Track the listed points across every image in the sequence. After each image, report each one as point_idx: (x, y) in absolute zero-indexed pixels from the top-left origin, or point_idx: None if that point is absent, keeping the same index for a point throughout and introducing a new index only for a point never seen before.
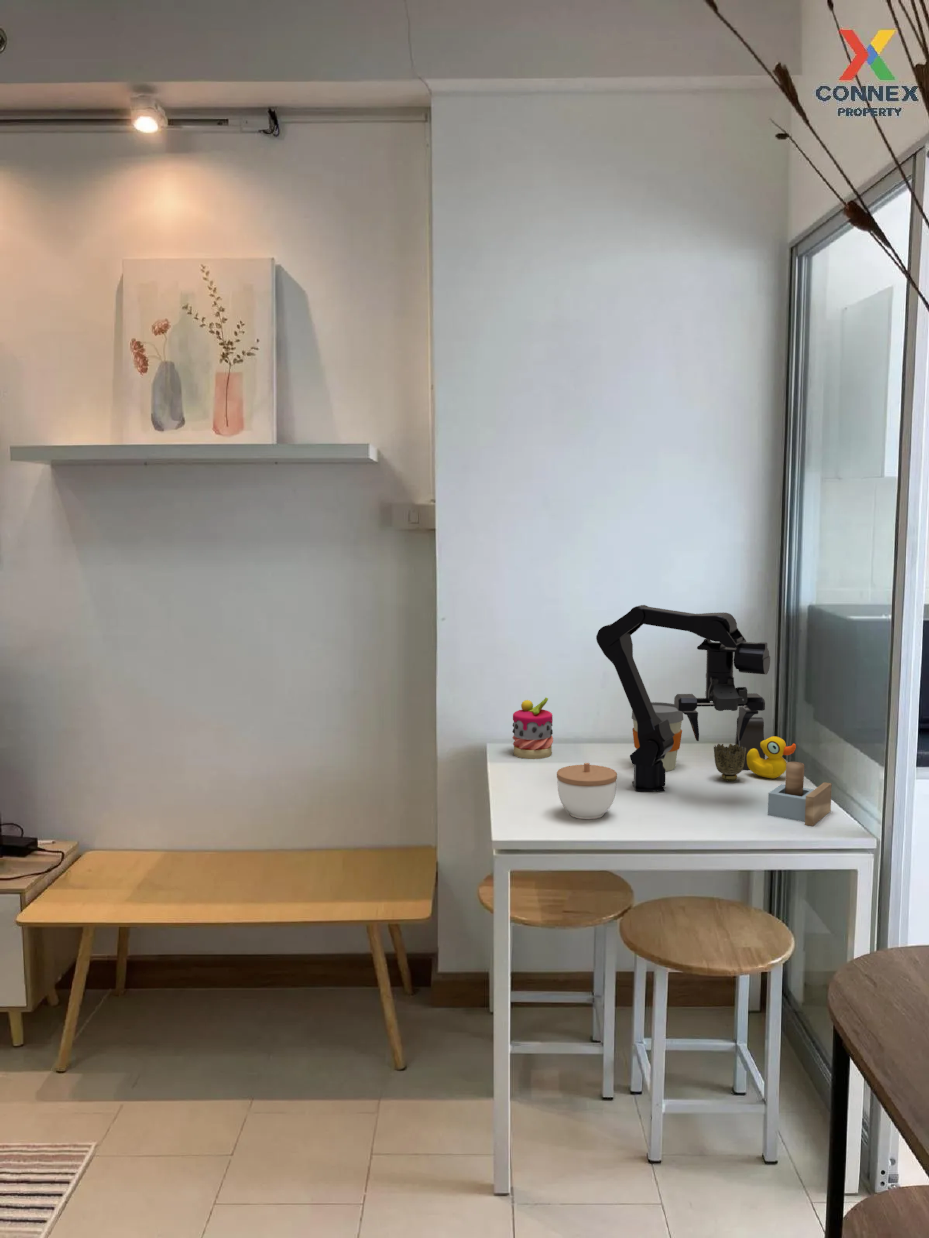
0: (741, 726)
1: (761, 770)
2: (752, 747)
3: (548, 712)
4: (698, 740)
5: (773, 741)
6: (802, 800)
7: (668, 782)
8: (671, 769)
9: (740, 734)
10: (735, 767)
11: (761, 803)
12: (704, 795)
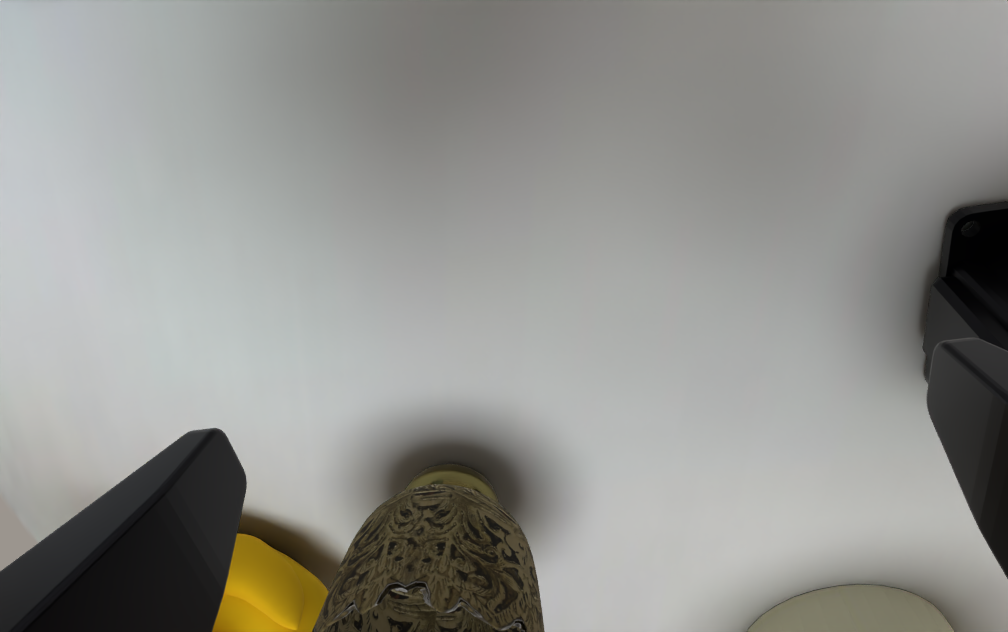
0: (21, 625)
1: (253, 559)
2: None
3: None
4: (948, 340)
5: None
6: None
7: (849, 414)
8: (772, 612)
9: (142, 491)
10: (399, 511)
11: (201, 8)
12: (644, 159)
